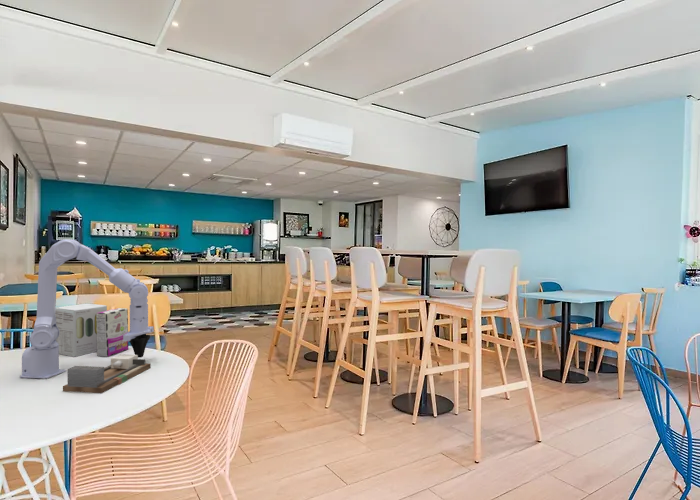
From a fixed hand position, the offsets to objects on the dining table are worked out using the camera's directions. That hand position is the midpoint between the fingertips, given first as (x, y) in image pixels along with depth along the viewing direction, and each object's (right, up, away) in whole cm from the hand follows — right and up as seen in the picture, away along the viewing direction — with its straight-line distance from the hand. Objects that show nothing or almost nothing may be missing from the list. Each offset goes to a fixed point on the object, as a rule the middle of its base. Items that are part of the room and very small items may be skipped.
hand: (139, 356), depth 148 cm
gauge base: (-2, -3, -15) cm, 15 cm away
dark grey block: (-3, -2, -25) cm, 26 cm away
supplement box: (-31, -2, +18) cm, 36 cm away
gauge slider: (+1, -1, -9) cm, 9 cm away
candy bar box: (-18, -3, +15) cm, 23 cm away
